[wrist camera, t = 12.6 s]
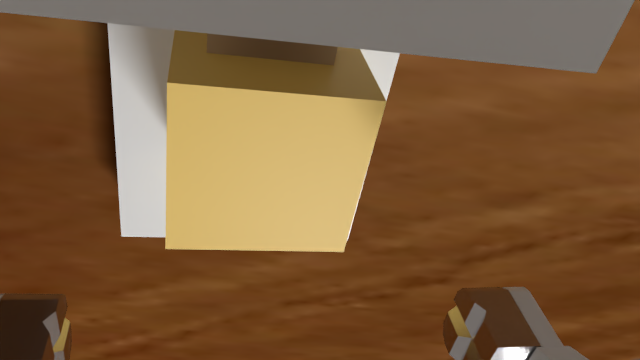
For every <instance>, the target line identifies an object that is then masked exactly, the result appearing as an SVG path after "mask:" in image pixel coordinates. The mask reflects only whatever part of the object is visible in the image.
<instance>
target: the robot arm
mask: <svg viewBox="0 0 640 360" xmlns="http://www.w3.org/2000/svg"><path fill="white" fill-rule="evenodd" d="M454 301H455V303H456V305H457V306H456V307H455V308H453V309H452V310H450V311H449V312H448V313H447V315H446V318H445V320H444V325H443V336H444V341H445V345H446V348H447V350H448V353H449V354H450V355H451V356H452V357H453V358H454V359H455V360H588V359H587V358H585V357H584V356H583V355H581V354H580V353H579V352H577V351H576V350H574V349H573V348H572V347H570V346H563V344H562V343H561V341H560V339H559V338H558V336H557V335H556V333H555V331H554V330H553V328H552V327H551V325H550V323H549V322H548V320H547V319H546V317H545V315H544V314H543V312H542V311H541V309H540V307H539V306H538V304H537V303H536V301H535V299H534V298H533V296H532V295H531V293H530V292H529V290H527V289H526V288H525V287H503V288H501V287H482V288H462V289H461V290H459V291H458V292H457V294H456V296H455V298H454ZM67 307H68V306H67V301H66V296H65V295H64V294H6V293H5V294H0V360H69V359H70V351H71V342H72V337H71V324H70V321H68V320H67V319H66V318H65V315H66V311H67Z"/></svg>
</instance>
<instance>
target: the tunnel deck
mask: <svg viewBox="0 0 640 360" xmlns="http://www.w3.org/2000/svg"><path fill="white" fill-rule="evenodd" d="M633 2H634V0H0V12H4V13H14V14H23V15H33V16H43V17H53V18H62V19H72V20H82V21H91V22H101V23H108V39H109V54H110V69H111V84H112V99H113V115H114V130H115V145H116V160H117V176H118V191H119V206H120V221H121V236H123V237H166V139H167V79H168V73H169V66H170V59H171V52H172V45H173V38H174V31H175V30H179V31H189V32H199V33H208V34H218V35H228V36H237V37H247V38H257V39H267V40H276V41H286V42H296V43H306V44H315V45H325V46H335V47H344V48H354V49H360V50H361V52H362V54H363V56H364V58H365V60H366V62H367V64H368V66H369V68H370V70H371V72H372V74H373V76H374V78H375V80H376V82H377V84H378V86H379V88H380V90H381V92H382V93H383V95H384V97H385V99H386V101H387V97H388V94H389V90H390V86H391V83H392V79H393V76H394V72H395V68H396V65H397V61H398V58H399V54H400V53H403V54H413V55H422V56H432V57H442V58H451V59H461V60H471V61H481V62H490V63H500V64H510V65H520V66H529V67H539V68H549V69H559V70H568V71H578V72H588V73H597V71H598V69H599V67H600V65H601V63H602V61H603V59H604V57H605V56H606V54H607V52H608V50H609V48H610V46H611V44H612V42H613V40H614V38H615V36H616V35H617V33H618V31H619V29H620V27H621V25H622V23H623V21H624V19H625V17H626V16H627V14H628V12H629V10H630V8H631V6H632V4H633ZM369 162H370V161H369ZM367 169H368V168H367ZM365 176H366V175H365ZM363 183H364V182H363ZM362 187H363V186H362ZM361 190H362V189H361ZM360 194H361V193H360ZM359 197H360V196H359ZM358 201H359V200H358ZM357 205H358V203H357ZM356 208H357V207H356ZM355 212H356V210H355ZM354 215H355V214H354ZM353 219H354V217H353ZM352 222H353V221H352ZM351 226H352V224H351ZM350 230H351V228H350ZM349 233H350V231H349ZM348 237H349V235H348ZM347 240H348V238H347Z"/></svg>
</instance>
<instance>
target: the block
mask: <svg viewBox="0 0 640 360" xmlns="http://www.w3.org/2000/svg"><path fill="white" fill-rule="evenodd" d="M386 102H387V101H386V99H385V97H384V95H383V93H382V92H381V90H380V88H379V86H378V84H377V82H376V80H375V78H374V76H373V74H372V72H371V70H370V68H369V66H368V64H367V62H366V60H365V58H364V56H363V54H362V52H361V50H360V49H354V48H344V47H338V48H337V53H336V57H335V62H334V65H324V64H314V63H304V62H294V61H284V60H274V59H264V58H254V57H244V56H234V55H224V54H214V53H207V33H199V32H189V31H179V30H175V31H174V38H173V45H172V52H171V59H170V66H169V73H168V79H167V139H166V246H165V249H201V250H263V251H325V252H344V249H345V245H346V242H347V238H348V235H349V231H350V228H351V224H352V221H353V217H354V214H355V210H356V207H357V203H358V200H359V196H360V193H361V189H362V186H363V182H364V179H365V175H366V172H367V168H368V165H369V161H370V158H371V154H372V151H373V147H374V144H375V140H376V137H377V133H378V130H379V126H380V123H381V119H382V116H383V112H384V109H385V105H386Z"/></svg>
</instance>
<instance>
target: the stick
mask: <svg viewBox="0 0 640 360" xmlns="http://www.w3.org/2000/svg"><path fill="white" fill-rule="evenodd" d="M337 48H338V47H335V46H325V45H315V44H306V43H296V42H286V41H276V40H267V39H257V38H247V37H237V36H228V35H218V34H208V33H207V53H214V54H224V55H234V56H244V57H254V58H264V59H274V60H284V61H294V62H304V63H314V64H324V65H334V62H335V57H336V53H337Z"/></svg>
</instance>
